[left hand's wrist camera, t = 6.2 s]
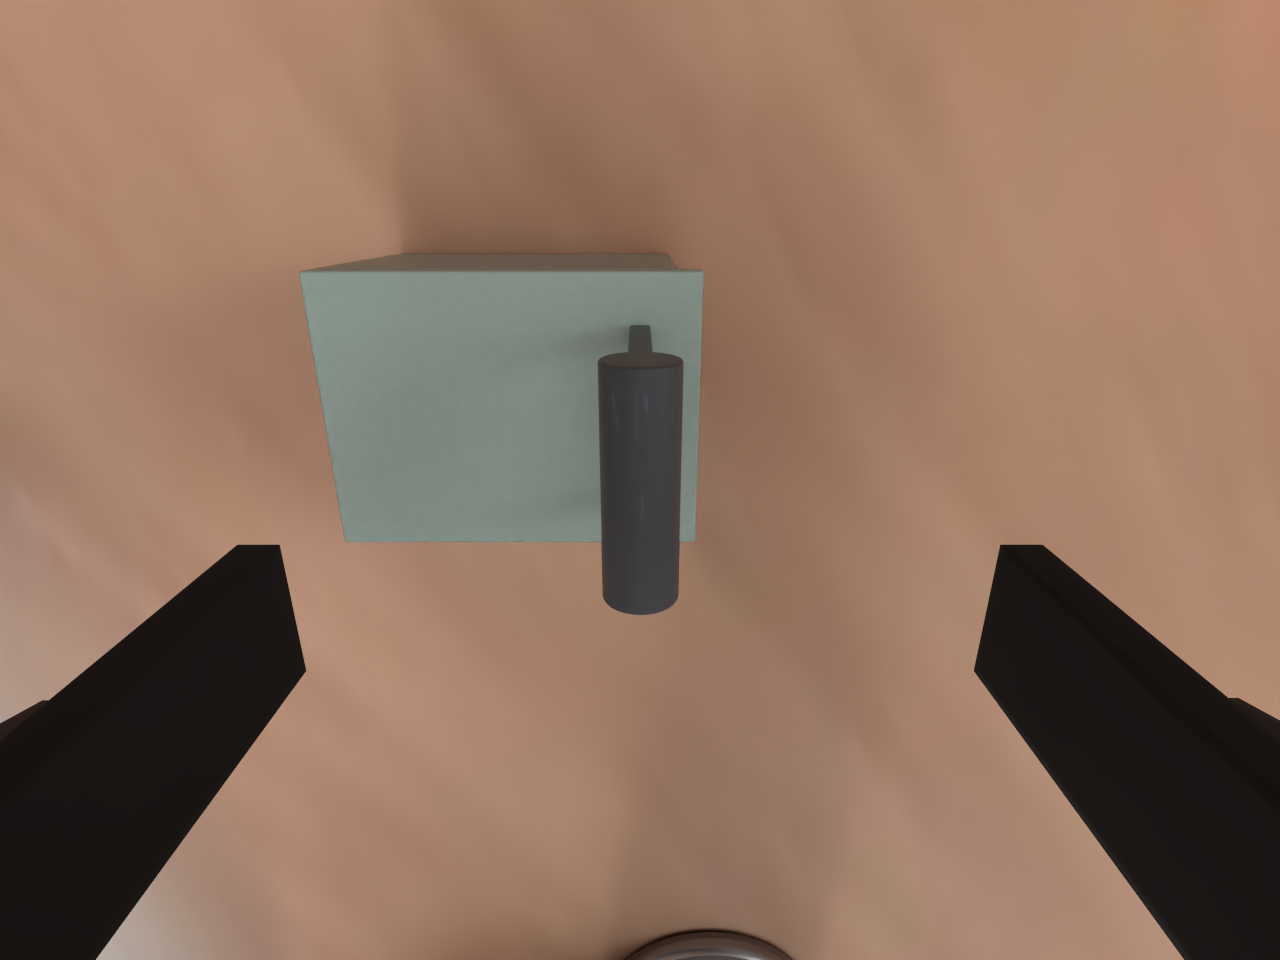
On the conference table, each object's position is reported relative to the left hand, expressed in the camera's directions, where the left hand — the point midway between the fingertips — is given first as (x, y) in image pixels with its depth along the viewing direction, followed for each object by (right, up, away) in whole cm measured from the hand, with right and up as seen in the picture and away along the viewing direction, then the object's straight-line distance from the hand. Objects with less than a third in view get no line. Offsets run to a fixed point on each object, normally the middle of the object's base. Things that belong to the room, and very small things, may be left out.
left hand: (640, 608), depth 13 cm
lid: (-5, +5, +13) cm, 14 cm away
